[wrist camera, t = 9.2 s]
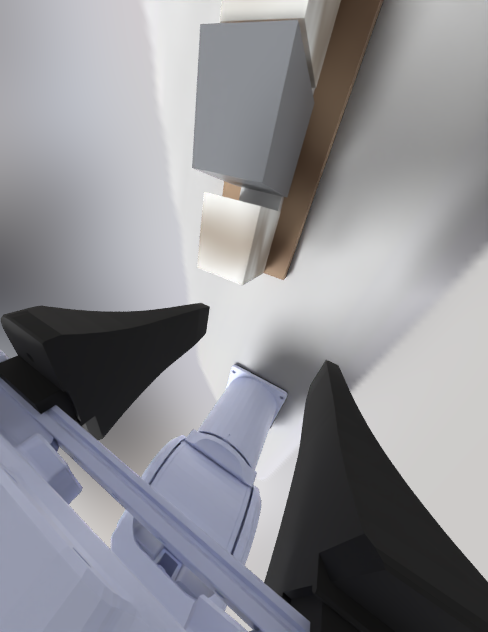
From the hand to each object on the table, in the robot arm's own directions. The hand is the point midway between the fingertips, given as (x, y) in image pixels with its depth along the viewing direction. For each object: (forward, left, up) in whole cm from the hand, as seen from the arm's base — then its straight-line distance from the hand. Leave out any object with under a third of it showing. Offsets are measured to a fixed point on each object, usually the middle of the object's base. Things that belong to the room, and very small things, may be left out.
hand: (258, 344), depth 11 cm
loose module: (+10, +5, -8) cm, 14 cm away
